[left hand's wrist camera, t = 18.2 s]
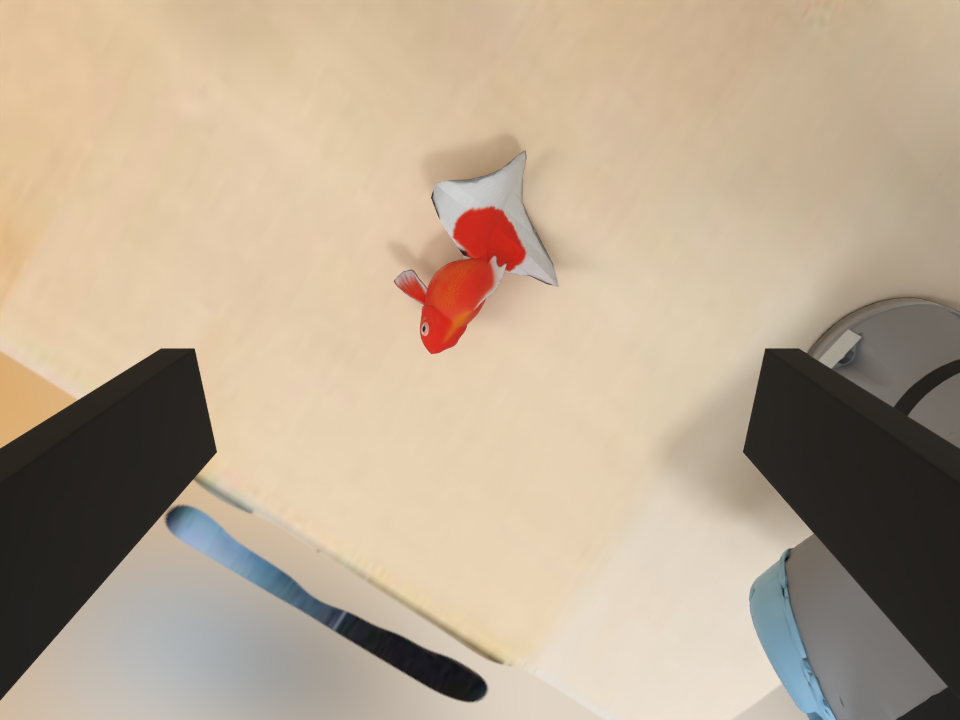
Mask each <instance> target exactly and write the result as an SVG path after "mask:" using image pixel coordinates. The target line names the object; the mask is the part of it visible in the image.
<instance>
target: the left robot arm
mask: <svg viewBox="0 0 960 720" xmlns="http://www.w3.org/2000/svg"><path fill="white" fill-rule="evenodd" d="M216 453H217V450H216V446H215V441H214V436H213V432H212V427H211V422H210V418H209V413H208V408H207V404H206V399H205V395H204V390H203V385H202V381H201V376H200V371H199V367H198V362H197V357H196V353H195V349H160V350H158V351H157V352H155V353H153V354H152V355H150V356H148V357H147V358H145V359H144V360H142V361H140V362H139V363H137V364H136V365H134V366H132V367H131V368H129V369H128V370H126V371H124V372H123V373H121V374H119V375H118V376H116V377H115V378H113V379H111V380H110V381H108V382H107V383H105V384H103V385H102V386H100V387H99V388H97V389H95V390H94V391H92V392H91V393H89V394H87V395H86V396H84V397H82V398H81V399H79V400H78V401H76V402H74V403H73V404H71V405H70V406H68V407H66V408H65V409H63V410H62V411H60V412H58V413H57V414H55V415H53V416H52V417H50V418H49V419H47V420H45V421H44V422H42V423H41V424H39V425H38V426H36V427H34V428H33V429H31V430H29V431H28V432H26V433H25V434H23V435H21V436H20V437H18V438H16V439H15V440H13V441H12V442H10V443H8V444H7V445H5V446H4V447H2V448H0V700H1V699H2V698H3V697H4V696H5V694H6V693H7V692H8V691H9V690H10V689H11V688H12V686H13V685H14V684H15V683H16V682H17V681H18V679H19V678H20V677H21V676H22V675H23V674H24V673H25V671H26V670H27V669H28V668H29V667H30V666H31V665H32V663H33V662H34V661H35V660H36V659H37V658H38V657H39V655H40V654H41V653H42V652H43V651H44V650H45V649H46V647H47V646H48V645H49V644H50V643H51V642H52V641H53V639H54V638H55V637H56V636H57V635H58V634H59V632H60V631H61V630H62V629H63V628H64V627H65V626H66V624H67V623H68V622H69V621H70V620H71V619H72V618H73V616H74V615H75V614H76V613H77V612H78V611H79V610H80V608H81V607H82V606H83V605H84V604H85V603H86V602H87V600H88V599H89V598H90V597H91V596H92V595H93V593H94V592H95V591H96V590H97V589H98V588H99V587H100V585H101V584H102V583H103V582H104V581H105V580H106V579H107V577H108V576H109V575H110V574H111V573H112V572H113V571H114V569H115V568H116V567H117V566H118V565H119V564H120V563H121V561H122V560H123V559H124V558H125V557H126V556H127V555H128V553H129V552H130V551H131V550H132V549H133V548H134V546H135V545H136V544H137V543H138V542H139V541H140V540H141V538H142V537H143V536H144V535H145V534H146V533H147V532H148V530H149V529H150V528H151V527H152V526H153V525H154V524H155V522H156V521H157V520H158V519H159V518H160V517H161V516H162V514H163V513H164V512H165V511H166V510H167V509H168V508H169V506H170V505H171V504H172V503H173V502H174V501H175V500H176V498H177V497H178V496H179V495H180V494H181V493H182V491H183V490H184V489H185V488H186V487H187V486H188V485H189V483H190V482H191V481H192V480H193V479H194V478H195V477H196V475H197V474H198V473H199V472H200V471H201V470H202V469H203V467H204V466H205V465H206V464H207V463H208V462H209V461H210V459H211V458H212V457H213V456H214V455H215V454H216ZM743 453H744V454H745V455H746V456H747V457H748V458H749V459H750V461H751V462H752V463H753V464H754V465H755V466H756V467H757V469H758V470H759V471H760V472H761V473H762V474H763V475H764V477H765V478H766V479H767V480H768V481H769V482H770V483H771V485H772V486H773V487H774V488H775V489H776V490H777V492H778V493H779V494H780V495H781V496H782V497H783V498H784V500H785V501H786V502H787V503H788V504H789V505H790V506H791V508H792V509H793V510H794V511H795V512H796V513H797V514H798V516H799V517H800V518H801V519H802V520H803V521H804V522H805V524H806V525H807V526H808V527H809V528H810V529H811V530H812V532H813V533H814V534H813V535H811V536H810V537H809V538H807V539H806V540H804V541H803V542H802V543H800V544H799V545H797V546H796V547H795V548H792V549H788V550H786V551H785V552H784V553H783V554H782V556H781V558H780V560H779V561H778V562H776V563H775V564H774V565H773V566H771V567H770V568H769V569H768V570H766V571H765V572H764V573H763V574H762V575H760V576H759V577H758V578H757V579H756V580H755V581H754V583H753V585H752V587H751V589H750V596H749V602H750V613H751V617H752V621H753V624H754V627H755V630H756V632H757V635H758V637H759V640H760V642H761V644H762V647H763V649H764V651H765V653H766V655H767V657H768V659H769V661H770V663H771V664H772V666H773V668H774V670H775V672H776V673H777V675H778V677H779V678H780V680H781V682H782V684H783V685H784V687H785V689H786V690H787V692H788V693H789V695H790V696H791V698H792V699H793V701H794V702H795V704H796V705H797V707H798V708H799V709H800V710H801V711H802V712H804V713H806V714H807V716H808V718H809V720H960V312H959V311H957V310H954V309H952V308H949V307H946V306H943V305H940V304H937V303H934V302H931V301H928V300H923V299H917V298H897V299H890V300H885V301H881V302H877V303H874V304H871V305H868V306H866V307H863V308H861V309H859V310H857V311H855V312H853V313H851V314H849V315H848V316H846V317H845V318H843V319H842V320H840V321H839V322H837V323H836V324H835V325H834V326H832V327H831V328H830V329H829V330H828V331H827V332H826V333H824V335H823V336H822V337H821V338H820V339H819V340H818V341H817V342H816V344H815V345H814V346H813V347H812V349H811V350H810V352H809V353H808V354H807V353H805V352H803V351H802V350H800V349H765V353H764V357H763V362H762V367H761V371H760V376H759V381H758V385H757V390H756V395H755V399H754V404H753V408H752V413H751V418H750V422H749V427H748V432H747V436H746V441H745V446H744V450H743Z"/></svg>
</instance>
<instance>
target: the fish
mask: <svg viewBox="0 0 960 720" xmlns="http://www.w3.org/2000/svg"><path fill="white" fill-rule="evenodd" d="M526 158H527V157H526V151H523V152H522V153H520V154H519V155H518V156H517V157H516V158H514V159H513V160H512V161H511V162H509V163H508V164H507V165H506V166H505V167H504V168H503V169H501V170H498V171H496V172H494V173H492V174H489V175H487V176H482V177H478V178H474V179H469V180H449V181H445V182H440V183H436V184H435V186H434V190H433V193H432V197H431V199H432V201H433V204H434V206H435V209H436V212H437V214H438V217H439V219H440V221H441V222H442V224H443V226H444V228H445V230H446V231H447V233H448V234H449V236H450V237H451V239H452V240H453V241H454V243H455V244H456V245H457V247H458V248H459V250H460V251H461V252H462V254H463V260H458V261H454V262H451V263H449V264H447V265H445V266H444V267H442V268H441V269H440V270H439V271H437V273H436V274H435V275H434V276H433V278H432V280H431V281H430V283H429V286H428V288H426V286H425V285H424V284H423V283H422V282H421V280H420V279H419V278H418V276H417V275H416V273H415V272H414V271H413V270H408V271H404V272H402V273H401V274H400V275H399V276H398V277H397V278H396V279H395V280H394V282H395V284H396V285H397V287H399V288H400V289H401V290H402V291H403V292H404V293H406V294H407V295H408V296H410V297H412V298H413V299H415V300H417V301H418V302H420V303H422V304H423V305H424V306H423V307H422V316H421V323H420V334H421V339H422V341H423V344H424V345H425V347H426V349H427V350H428V351H429V352H430V353H431V354H436V353H440V352H442V351H443V350H445V349H448V348H451V347H453V346H455V345H456V344H457V342H458V340H459V338H460V337H461V336H462V334H463V333H464V332H465V330H466V327H467V324H468V323H469V322H470V321H471V320H472V319H473V318H474V317H475V316H476V315H477V314H478V312H479V311H480V309H481V307H482V306H483V304H484V302H485V299H486V298H487V297H488V296H489V295H490V294H491V293H493V292H494V291H495V290H496V288H497V286H498V284H499V282H500V280H501V278H502V275H503V273H513V274H518V275H528V276H531V277H533V278H535V279H538V280H540V281H542V282H544V283H546V284H549V285H553V286H557V287H559V286H558V282H557V278H556V274H555V270H554V266H553V263H552V261H551V259H550V257H549V256H548V254H547V252H546V250H545V248H544V246H543V244H542V242H541V240H540V238H539V236H538V234H537V232H536V231H535V229H534V227H533V225H532V223H531V221H530V219H529V217H528V215H527V212H526V210H525V208H524V205H523V203H522V184H523V173H524V168H525V164H526Z"/></svg>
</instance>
